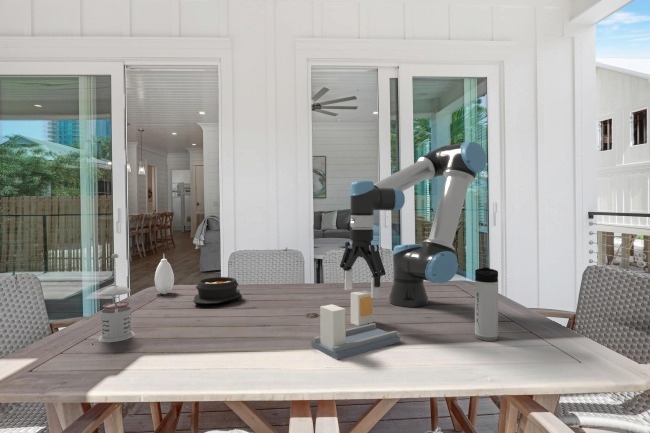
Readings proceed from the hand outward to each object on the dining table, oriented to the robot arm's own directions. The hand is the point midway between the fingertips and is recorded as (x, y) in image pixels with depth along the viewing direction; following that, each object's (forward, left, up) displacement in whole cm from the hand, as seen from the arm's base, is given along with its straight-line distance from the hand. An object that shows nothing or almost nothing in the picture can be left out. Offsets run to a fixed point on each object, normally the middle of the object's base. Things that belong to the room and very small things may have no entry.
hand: (361, 293), depth 130 cm
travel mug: (+32, +20, -10) cm, 39 cm away
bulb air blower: (-85, -43, -10) cm, 96 cm away
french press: (-34, -68, -10) cm, 76 cm away
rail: (+14, -14, -10) cm, 22 cm away
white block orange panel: (0, 0, -10) cm, 10 cm away
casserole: (-59, -28, -10) cm, 66 cm away
